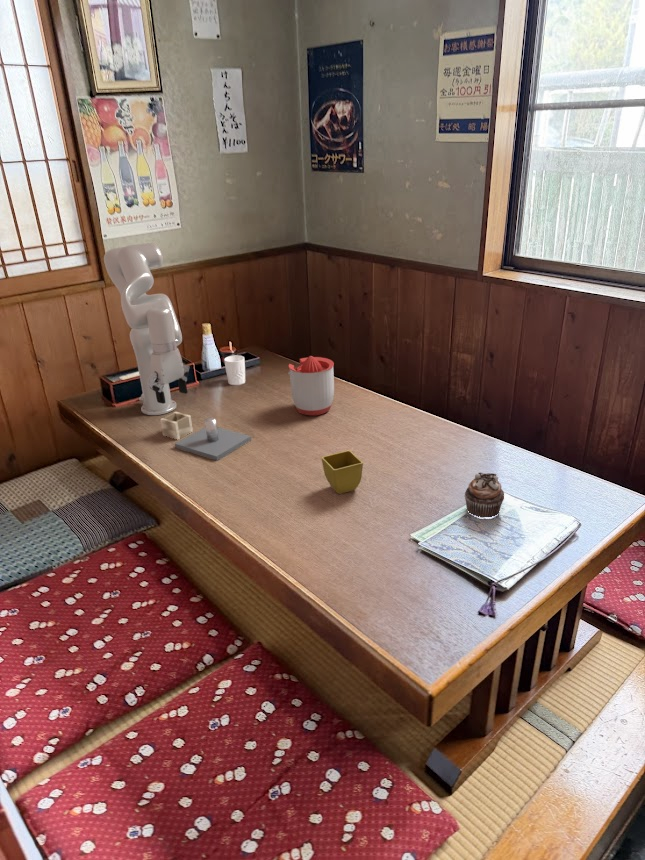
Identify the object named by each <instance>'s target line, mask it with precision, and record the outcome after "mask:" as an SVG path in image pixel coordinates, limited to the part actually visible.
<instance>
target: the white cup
mask: <svg viewBox="0 0 645 860" xmlns="http://www.w3.org/2000/svg"><path fill="white" fill-rule="evenodd" d="M223 360H224V365H225V367H224V368H225V371H226V376H227V383H228V384H229V385H231V386H241V385H244V384H245V383H246V364H245V363H246V362H245V361H246V360H245V356H243V355H240V354H239V355H238V354H237V355H229V356H226V357H225V358H224V359H223Z"/></svg>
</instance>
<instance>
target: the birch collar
mask: <svg viewBox="0 0 645 860" xmlns="http://www.w3.org/2000/svg"><path fill="white" fill-rule="evenodd" d="M160 426H161V431H162V436H163V437H166V436H167V437H166V438H169V437H170V439H173V438H174V439H173V440H176V439H177V440H176V441H179V440H181V439H183V438H185V437H187V436H188V435H190V434H192V433H194V429H193V422H192V416H191V415H190V414H187V413H183V412H179V411H174V412H172V413H169V414H168V415H166V416H164V417H162V418H160ZM191 432H192V433H191ZM189 433H190V434H189ZM187 434H188V435H187ZM184 436H185V437H184ZM182 437H183V438H182ZM180 438H181V439H180ZM178 439H179V440H178Z"/></svg>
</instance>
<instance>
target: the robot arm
mask: <svg viewBox="0 0 645 860" xmlns="http://www.w3.org/2000/svg"><path fill="white" fill-rule="evenodd" d="M103 262H104V267H105V271H106V273H107V275H108V277H109V278H110V280H111V282H112V283H113V285H114V286H115V287H116V289H117V290H118V292H119V294H120V295H119V296H120V306H121V309H122V313H123V315H124V318H125V320H126V323H127V325H128V326H129V328H131V330H130V332H129V340H130V342H131V343H130V344H131V346H132V348H133V352H134V355H135V359H136V364H137V369H138V375H139V380H140V385H141V391H142V394H141V395H140V397H139V398H138V400H139V401H141V402H142V403H143V404H142V406H141V407H140V408H141V413H142V414H144V415H147V416H158V415H159V416H160V415H164V414H169V413H170V412H172V411H174V410H175V409H176V408H177V407H178V406H177V402H176V401H175V400H173V399H172V395H171V389H170V383H173V382H175V381H177V380H178V381H177V384H178V385H177V386H178V391H179V393H181V394H185V395H186V394H188V393H189V392H188V387H187V381H188V376H189V374H190V373H189V371H190V365H189V364H188V365H187V364H185V363H183V359H182V355H181V353H180V350H179V348H178V346H179V345H181V343H182V342H183V335H182V331H181V326H180V324H179V320H178V318H177V314H176V312H175V309H174V306H173V304H172V301H171V299H170V298H169V296H168V295H166V294H165V293H153V294H147V292H149V290H151V288H152V287H153V286H154V276H153V274H152V272H151V270H153V269H160V268H161V267H162V266H163V265H164V257H163V252H162V251H161V249H160V247H159V246H158V244H156V243H153V242H150V243H148V242H147V243H139V244H131V245H126V246H121V247H115V248H111V249H109V250H107V251H106V252H105V253H104V256H103Z"/></svg>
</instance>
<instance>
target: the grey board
mask: <svg viewBox="0 0 645 860" xmlns="http://www.w3.org/2000/svg"><path fill="white" fill-rule="evenodd" d="M217 431H218V438H219V440H218V441H216V442H208V441H207V435H206V428H205V427H203V428H201V429H200V430H197V431H196V432H193V433H191V434H189V435H187V436H185V437H183V438H181V439H180V440H178V441H177V442H175V443H174V447H175V449H178V450H181V451H184V452H186V453H187V452H188V453H190V452H191V453H190V454H194V455H197V456H201V457H204V458H207V459H209V460H213V461H215V462H218V461H220V460H221V459H223V458H224V457H226V456H228V455H229V454H231V453H232V451H233V452H235V451H236V450H237V448H238V449H240V448H241V447H242V445H243V446H244V445H246V444H248V443H249V442H251V441H252V437H251V435H249V434H244V433H241V432H236V431H235V430H234V431H233V430H230V429H227V428H222V427H218V426H217ZM248 441H249V442H248ZM245 443H246V444H245ZM240 446H241V447H240Z"/></svg>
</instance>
